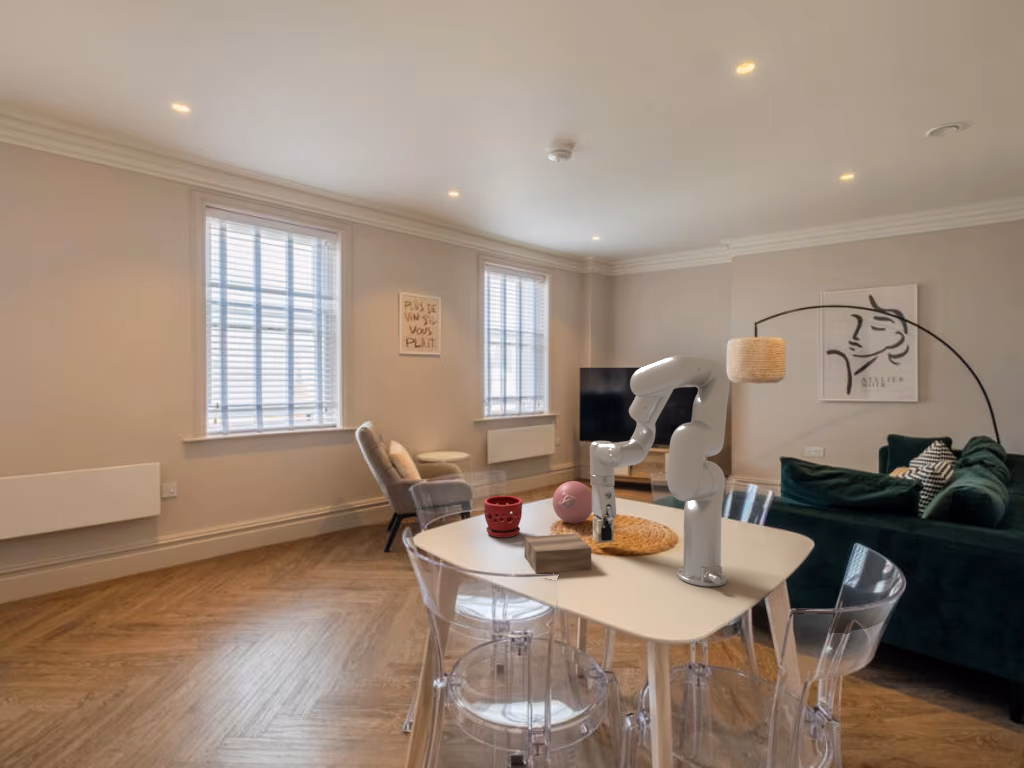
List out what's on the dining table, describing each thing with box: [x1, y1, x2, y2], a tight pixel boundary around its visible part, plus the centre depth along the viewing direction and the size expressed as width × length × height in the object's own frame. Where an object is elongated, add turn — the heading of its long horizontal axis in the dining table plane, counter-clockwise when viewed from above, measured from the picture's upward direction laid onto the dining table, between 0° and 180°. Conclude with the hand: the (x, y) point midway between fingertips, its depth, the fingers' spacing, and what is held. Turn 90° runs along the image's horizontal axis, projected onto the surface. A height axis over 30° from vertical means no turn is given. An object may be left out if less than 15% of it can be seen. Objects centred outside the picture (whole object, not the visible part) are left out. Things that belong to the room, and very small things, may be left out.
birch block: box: [592, 515, 615, 544], centre depth 169 cm, size 5×5×7 cm
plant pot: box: [483, 495, 523, 538], centre depth 184 cm, size 13×13×12 cm
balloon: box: [552, 480, 593, 524], centre depth 197 cm, size 15×20×15 cm
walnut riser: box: [523, 533, 592, 574], centre depth 155 cm, size 14×16×6 cm
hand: (603, 537), depth 169 cm, fingers closed on birch block, 5 cm apart
